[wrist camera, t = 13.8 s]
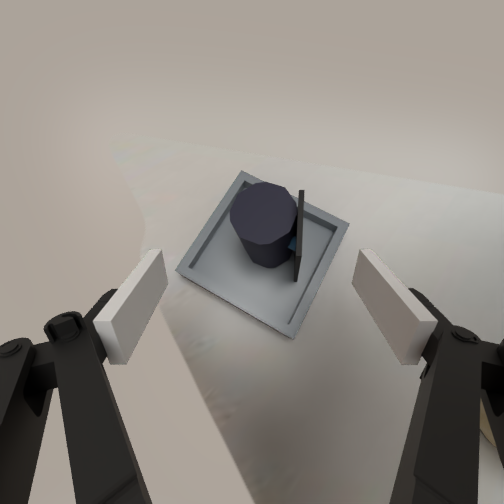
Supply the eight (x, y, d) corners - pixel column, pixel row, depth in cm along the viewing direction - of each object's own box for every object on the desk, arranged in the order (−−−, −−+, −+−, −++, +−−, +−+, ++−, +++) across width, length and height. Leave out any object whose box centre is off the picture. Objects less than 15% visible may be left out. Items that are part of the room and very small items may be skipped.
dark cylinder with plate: (316, 238, 28) (336, 192, 18) (296, 283, 27) (306, 260, 17) (257, 214, 30) (246, 160, 20) (235, 256, 29) (213, 220, 19)
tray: (341, 231, 30) (349, 223, 28) (289, 338, 26) (293, 339, 24) (242, 182, 32) (241, 170, 29) (181, 275, 28) (174, 270, 26)
